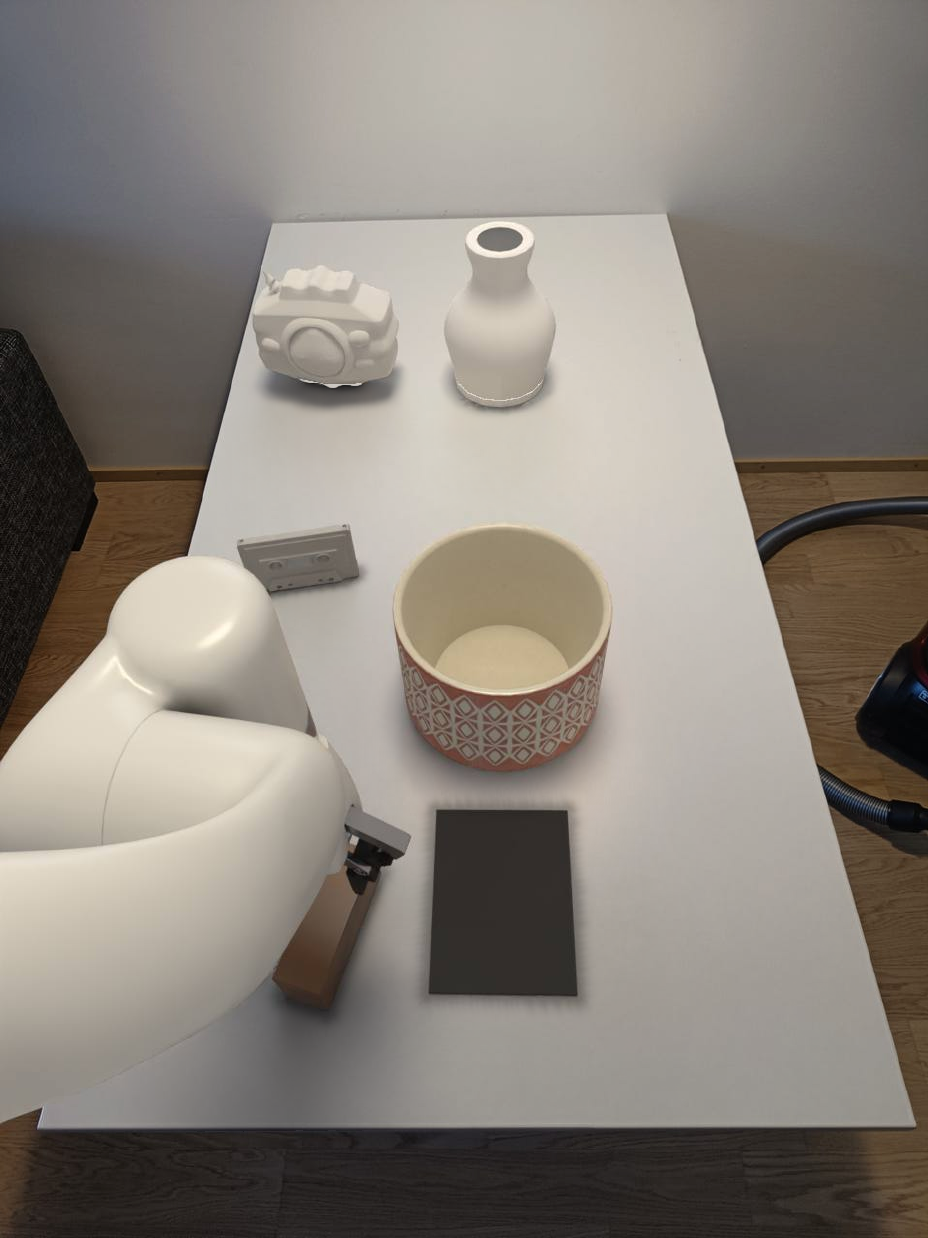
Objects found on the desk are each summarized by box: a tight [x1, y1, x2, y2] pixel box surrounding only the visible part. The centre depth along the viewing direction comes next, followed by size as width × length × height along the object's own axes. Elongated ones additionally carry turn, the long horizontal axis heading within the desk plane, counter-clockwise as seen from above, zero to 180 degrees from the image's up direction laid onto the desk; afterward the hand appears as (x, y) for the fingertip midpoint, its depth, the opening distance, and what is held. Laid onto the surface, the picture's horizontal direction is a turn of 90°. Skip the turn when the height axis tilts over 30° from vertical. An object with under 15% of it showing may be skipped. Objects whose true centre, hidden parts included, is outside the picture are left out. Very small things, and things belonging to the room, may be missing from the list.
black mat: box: [428, 809, 578, 996], centre depth 76 cm, size 16×12×1 cm
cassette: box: [236, 523, 360, 592], centre depth 95 cm, size 12×2×8 cm, turn 100°
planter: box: [392, 522, 613, 772], centre depth 83 cm, size 19×19×15 cm
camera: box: [252, 265, 400, 384], centre depth 113 cm, size 11×18×16 cm, turn 82°
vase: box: [443, 220, 557, 408], centre depth 111 cm, size 14×14×20 cm
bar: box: [271, 842, 382, 1011], centre depth 73 cm, size 12×4×5 cm, turn 163°
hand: (302, 855), depth 63 cm, fingers open, 9 cm apart
